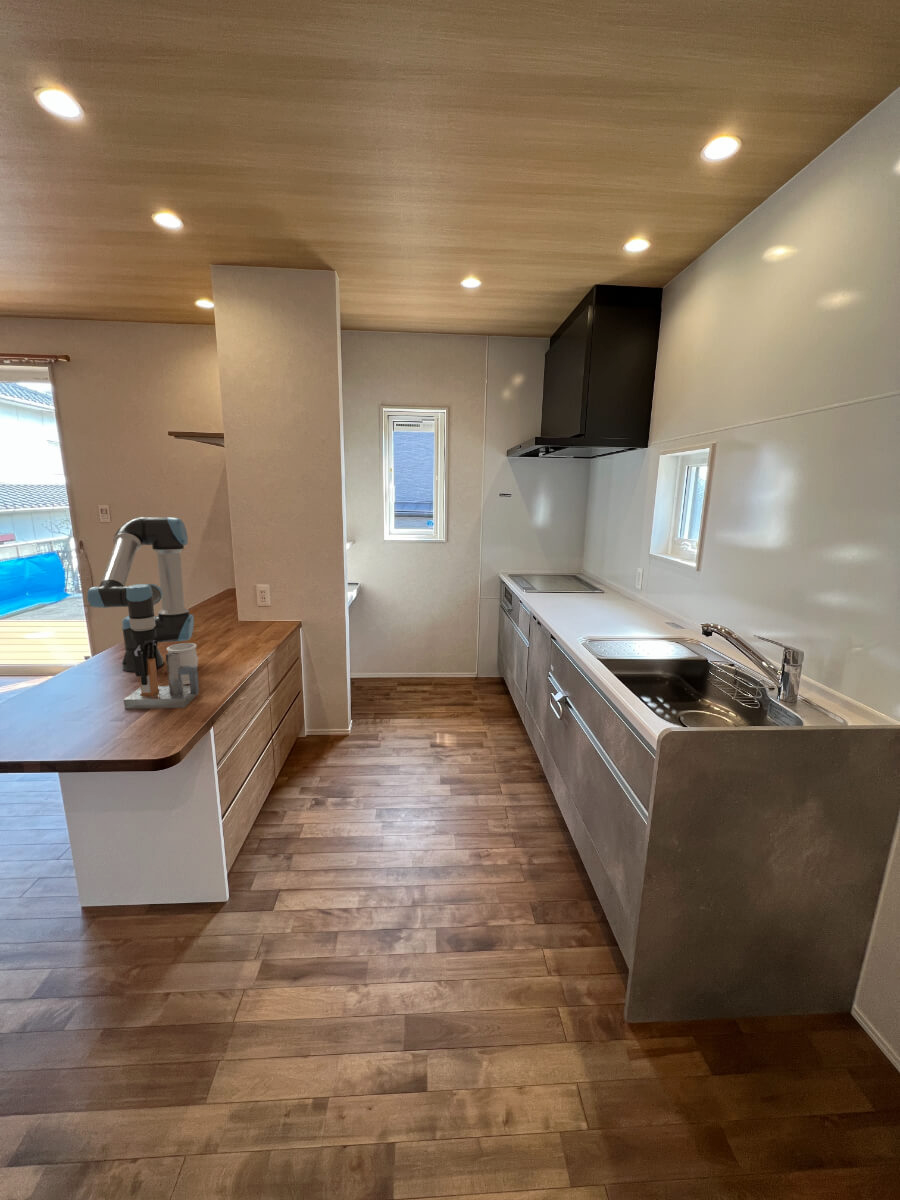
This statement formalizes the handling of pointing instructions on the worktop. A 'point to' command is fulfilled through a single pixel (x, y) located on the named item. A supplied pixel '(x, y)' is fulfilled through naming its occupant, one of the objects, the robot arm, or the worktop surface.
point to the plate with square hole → (168, 688)
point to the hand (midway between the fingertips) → (149, 689)
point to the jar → (185, 656)
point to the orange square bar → (152, 677)
